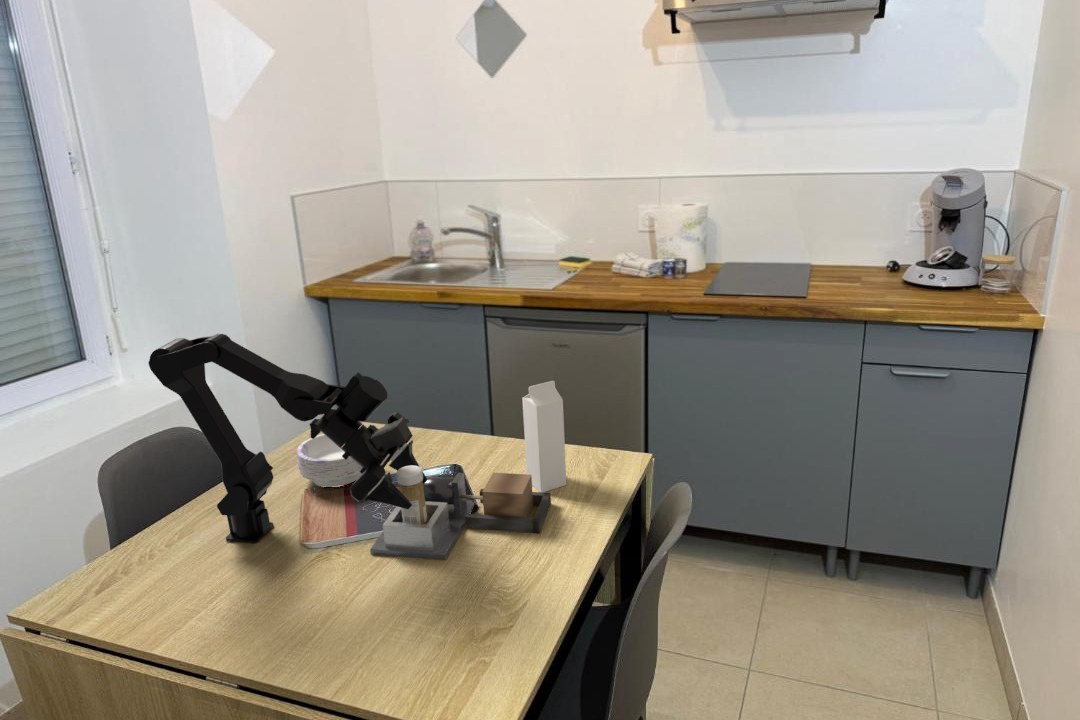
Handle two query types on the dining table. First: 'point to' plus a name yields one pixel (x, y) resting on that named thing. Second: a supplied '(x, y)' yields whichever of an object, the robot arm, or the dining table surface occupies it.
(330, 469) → the paper bowls
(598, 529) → the dining table surface
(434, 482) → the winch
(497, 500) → the crate bay
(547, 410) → the milk
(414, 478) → the sprinkles bottle
